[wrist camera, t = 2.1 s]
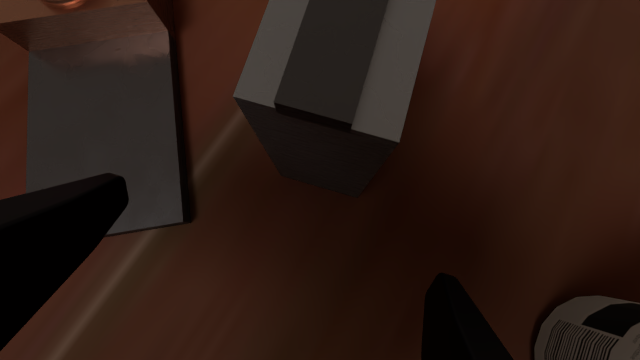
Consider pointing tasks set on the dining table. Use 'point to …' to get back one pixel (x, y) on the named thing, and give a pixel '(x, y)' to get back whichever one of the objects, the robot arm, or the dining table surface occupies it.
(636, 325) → the supplement can
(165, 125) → the block
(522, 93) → the dining table surface
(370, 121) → the lock block
